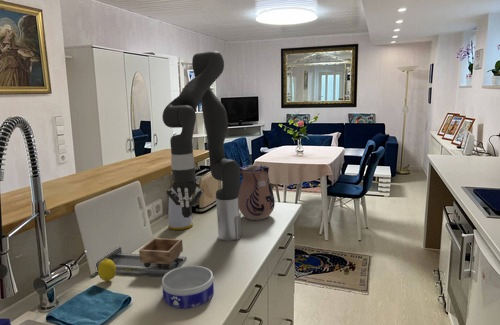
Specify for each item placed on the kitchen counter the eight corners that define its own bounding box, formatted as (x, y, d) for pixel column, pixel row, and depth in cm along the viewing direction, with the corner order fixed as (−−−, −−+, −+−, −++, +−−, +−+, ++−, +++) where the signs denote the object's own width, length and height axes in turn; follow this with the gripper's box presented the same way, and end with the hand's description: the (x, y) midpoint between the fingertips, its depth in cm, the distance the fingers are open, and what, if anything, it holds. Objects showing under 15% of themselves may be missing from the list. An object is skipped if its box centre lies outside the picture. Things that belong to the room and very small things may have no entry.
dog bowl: (221, 285, 118) (220, 267, 117) (201, 312, 104) (200, 292, 102) (178, 280, 122) (176, 263, 121) (153, 306, 108) (151, 286, 107)
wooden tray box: (183, 255, 135) (182, 239, 134) (170, 269, 125) (169, 252, 124) (155, 254, 138) (154, 238, 137) (140, 267, 127) (139, 250, 126)
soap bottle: (197, 226, 171) (193, 170, 166) (174, 232, 165) (169, 174, 160) (187, 220, 180) (183, 167, 175) (164, 225, 174) (159, 170, 169)
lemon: (102, 277, 126) (99, 255, 124) (119, 276, 126) (116, 254, 125) (97, 286, 120) (94, 263, 119) (114, 284, 121) (111, 261, 119)
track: (186, 259, 137) (185, 250, 137) (170, 277, 124) (169, 268, 123) (118, 255, 143) (117, 247, 143) (96, 272, 130) (95, 263, 129)
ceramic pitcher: (276, 222, 171) (274, 169, 166) (230, 224, 172) (227, 171, 167) (274, 211, 188) (272, 162, 184) (232, 212, 189) (229, 164, 184)
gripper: (206, 164, 125) (209, 213, 128) (169, 164, 128) (173, 212, 131) (198, 169, 118) (202, 221, 121) (159, 169, 121) (164, 220, 124)
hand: (187, 216), depth 126 cm, fingers closed
